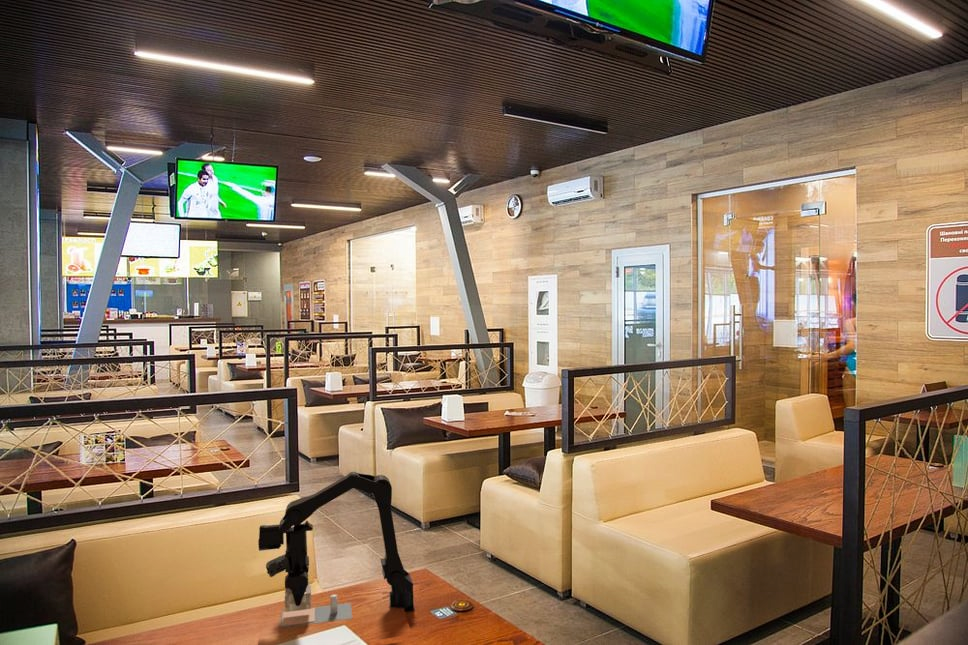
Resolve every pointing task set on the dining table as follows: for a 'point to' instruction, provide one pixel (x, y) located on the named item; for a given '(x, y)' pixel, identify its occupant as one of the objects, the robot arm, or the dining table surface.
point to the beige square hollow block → (290, 600)
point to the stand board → (317, 614)
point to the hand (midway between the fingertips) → (298, 600)
